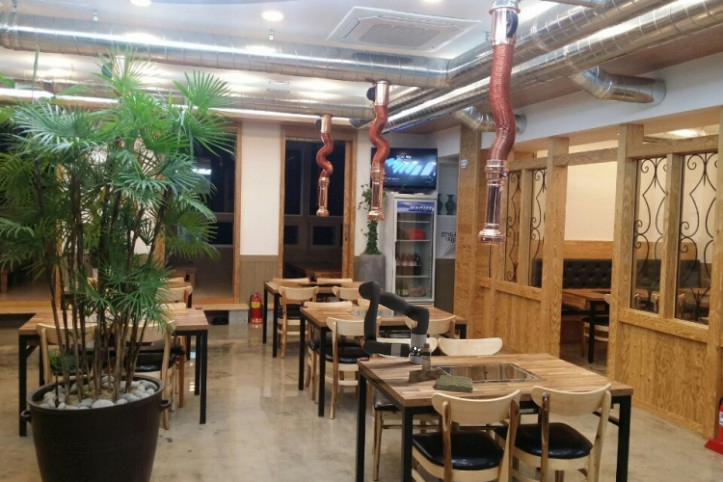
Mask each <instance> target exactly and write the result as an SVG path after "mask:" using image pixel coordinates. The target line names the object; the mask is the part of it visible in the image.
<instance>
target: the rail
mask: <svg viewBox="0 0 723 482" xmlns="http://www.w3.org/2000/svg"><path fill="white" fill-rule="evenodd" d="M408 372H409V375H408V381H409V382H412V383H417V382H418V383H420V382H426V381H433V380H437V379H439V378H440V375H444V369H443V368H440V367H431V370H430V371H423V370H422V369H417V370H416V369H415V370H409V371H408Z"/></svg>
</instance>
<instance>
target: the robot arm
mask: <svg viewBox="0 0 723 482" xmlns="http://www.w3.org/2000/svg"><path fill="white" fill-rule="evenodd" d="M381 289H382V288H381V285H380V283H379V282H378V281H376V280H373V281H372V280H371V281H367V282H363V283H361V284H360V285H359V286H358V294H359V296H360V297H361V298H363V300H367V301H369V305H368V308H367V311H366V313H365V316H364V319H363V335H364V342H363V344H362V350H363V352H364V353H366V354H367V355H369V356H370V355H371V356H372V355H377V354H378V355H382V356H386V357H388V356H389V357H396V358H403V359H404V358H405V359H408V358H409V363H411V364H415V365H417V364H418V365H422V356H430V352H425V351H422V347H424V343H427V338H428V337H427V336H428V329H429V325H430V316H431V315H430V310H429V308H427V307H425V306H420V305H414V304H411V303H409V302H407V300H405V298H403V297H402V296H400V295H398V294H396V293H393V292H390V291H382V290H381ZM379 306H382V307H384V308H387V309H388V310H390V311H393V312H395V313H398V314H401V315H404V316H405V317H407V318H408V319H409V320H412V321H413V322H416V326H414V327H412V328H411V331H410V343H406V342H404V343H403V342H388V341H387V342H385V341H384V342H383V341H378V340H377V339H378V338H377V332H378V331H377V330H378V329H377V328H378V327H377V325H378V323H377V322H378V320H377V319H378V318H377V317H378V312H379V311H378V310H379ZM431 352H432V348H431Z"/></svg>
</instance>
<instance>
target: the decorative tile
mask: <svg viewBox="0 0 723 482" xmlns="http://www.w3.org/2000/svg"><path fill="white" fill-rule="evenodd" d="M435 388H436V390H440V391H453V392H464V393H473V390H474V386H473V380H472V378H471V377H466V376H462V375H461V376H460V375H449V374H443V375H440V378H439V379H435Z"/></svg>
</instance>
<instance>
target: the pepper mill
mask: <svg viewBox="0 0 723 482" xmlns="http://www.w3.org/2000/svg"><path fill="white" fill-rule="evenodd" d="M430 344H431V343H429V342H426V343H424V347H422V351H425V352H430V356H422V364H421V370H423V371H430V370H431V368H432V351H431V349H432V347H431V345H430Z"/></svg>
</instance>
